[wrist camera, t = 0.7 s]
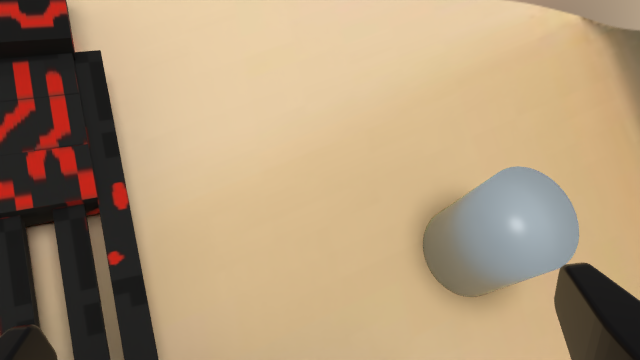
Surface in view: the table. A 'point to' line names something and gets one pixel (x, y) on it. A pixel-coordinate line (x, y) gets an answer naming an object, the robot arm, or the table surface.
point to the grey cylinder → (501, 233)
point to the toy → (64, 180)
